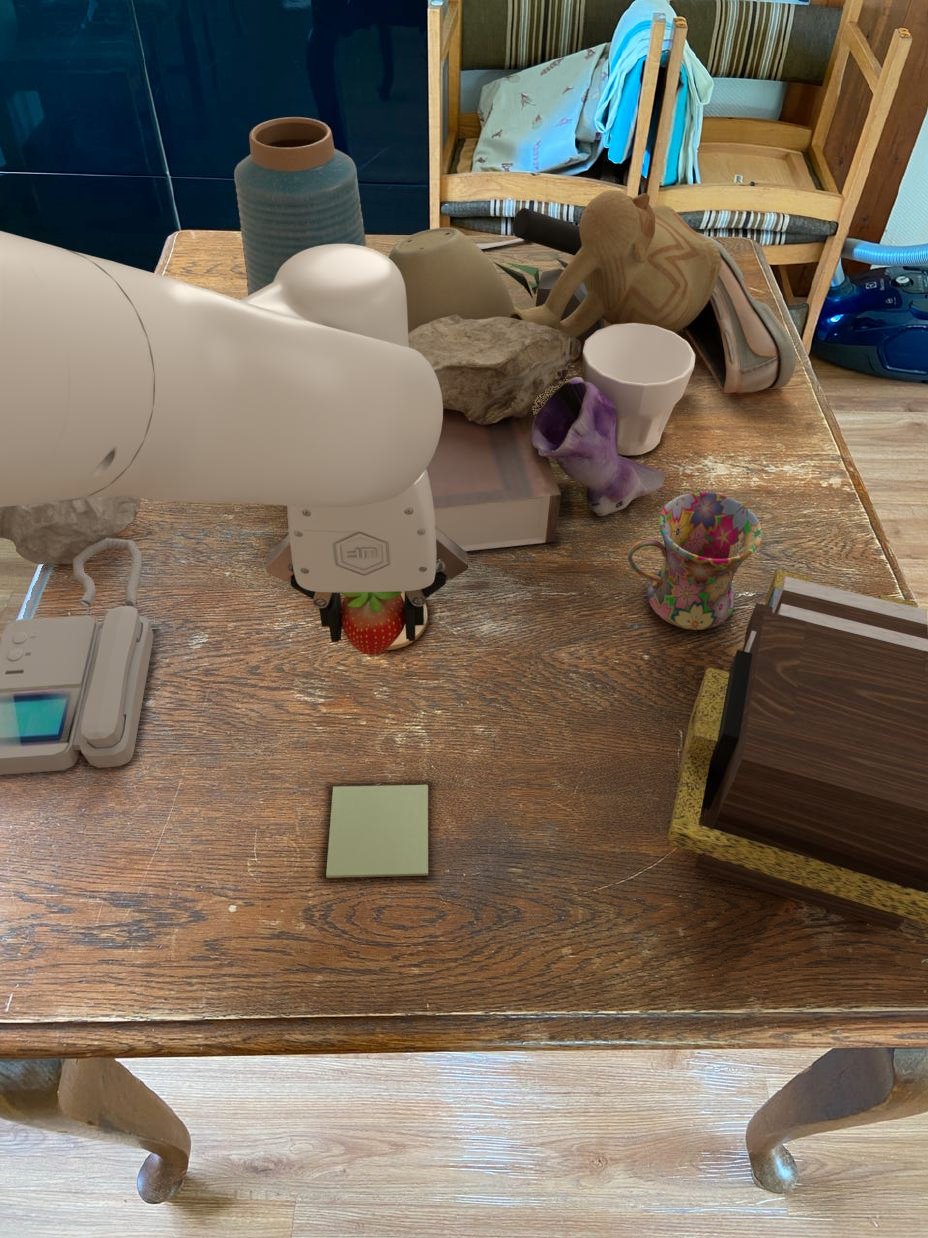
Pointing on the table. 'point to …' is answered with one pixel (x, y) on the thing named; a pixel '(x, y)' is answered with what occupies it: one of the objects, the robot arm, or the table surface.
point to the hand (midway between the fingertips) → (374, 626)
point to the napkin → (378, 831)
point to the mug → (699, 558)
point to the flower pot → (448, 278)
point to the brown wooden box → (816, 755)
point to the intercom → (75, 680)
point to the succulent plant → (545, 288)
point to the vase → (294, 196)
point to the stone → (65, 526)
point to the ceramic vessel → (632, 269)
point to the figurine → (591, 447)
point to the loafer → (741, 336)
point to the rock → (493, 363)
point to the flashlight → (547, 231)
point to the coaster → (402, 640)
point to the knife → (497, 243)
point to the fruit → (372, 619)
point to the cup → (638, 379)
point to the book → (492, 484)
